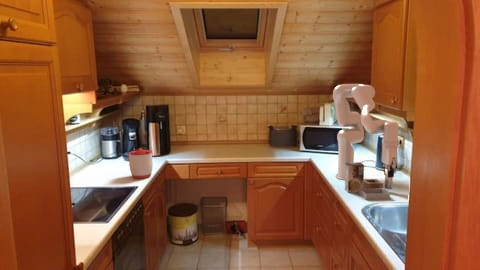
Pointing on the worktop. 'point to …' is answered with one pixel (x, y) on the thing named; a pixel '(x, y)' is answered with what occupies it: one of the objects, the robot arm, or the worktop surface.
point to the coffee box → (354, 177)
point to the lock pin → (388, 180)
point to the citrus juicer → (140, 163)
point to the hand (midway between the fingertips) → (388, 175)
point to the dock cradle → (374, 194)
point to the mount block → (372, 184)
